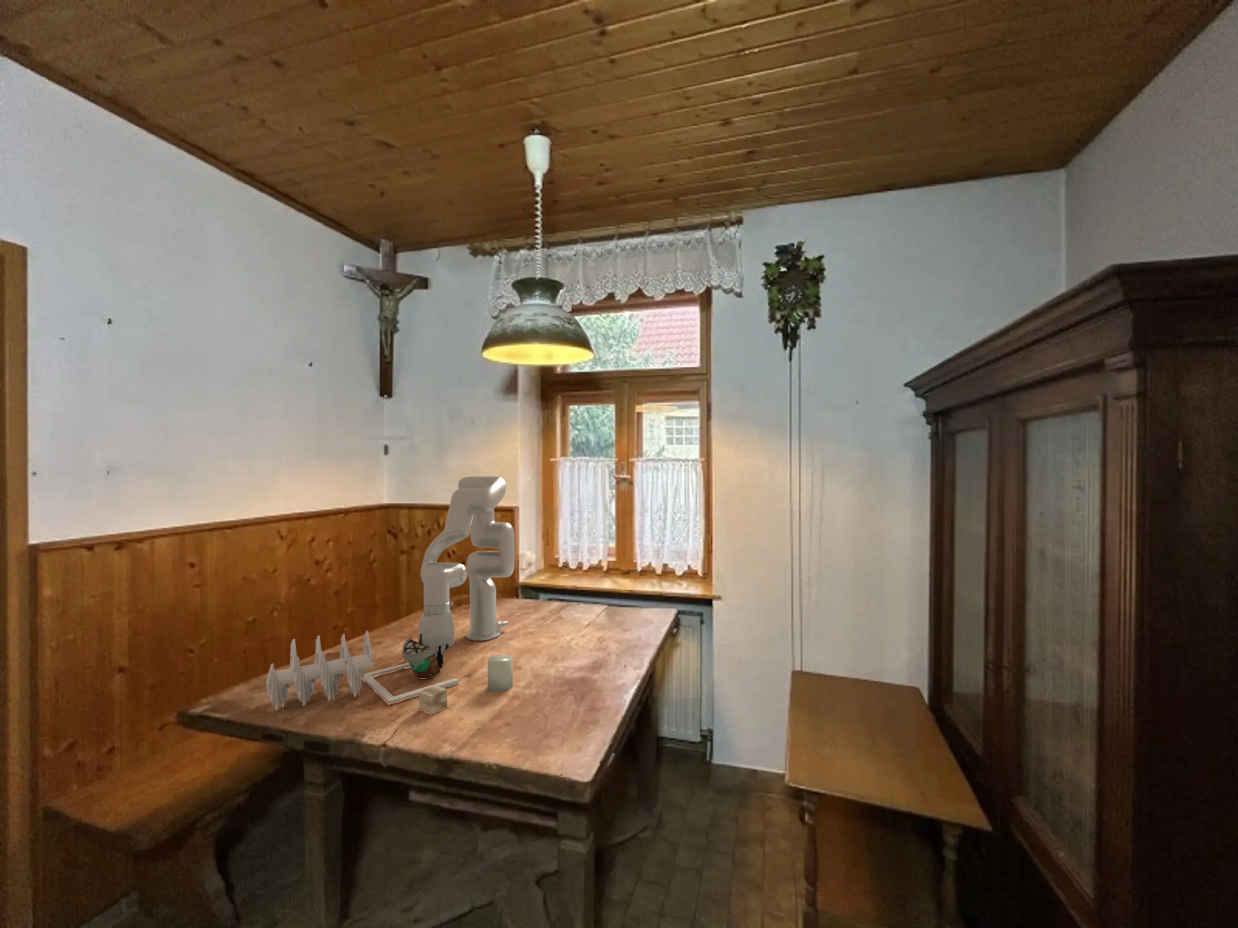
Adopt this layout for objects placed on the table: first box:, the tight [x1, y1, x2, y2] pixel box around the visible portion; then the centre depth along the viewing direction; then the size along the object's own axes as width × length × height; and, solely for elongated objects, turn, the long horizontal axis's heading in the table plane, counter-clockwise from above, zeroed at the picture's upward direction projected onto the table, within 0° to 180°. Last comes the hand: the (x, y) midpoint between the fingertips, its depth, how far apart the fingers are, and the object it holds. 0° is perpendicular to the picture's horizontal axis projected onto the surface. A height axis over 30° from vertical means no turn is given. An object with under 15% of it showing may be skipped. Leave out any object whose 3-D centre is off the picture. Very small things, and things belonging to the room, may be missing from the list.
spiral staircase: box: [265, 630, 374, 711], centre depth 146 cm, size 18×18×25 cm
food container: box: [401, 636, 441, 679], centre depth 160 cm, size 12×6×10 cm, turn 54°
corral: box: [362, 661, 460, 703], centre depth 158 cm, size 20×24×1 cm
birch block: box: [418, 684, 448, 714], centre depth 140 cm, size 5×5×5 cm
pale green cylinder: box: [487, 654, 514, 693], centre depth 154 cm, size 7×7×8 cm
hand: (437, 667), depth 164 cm, fingers closed
